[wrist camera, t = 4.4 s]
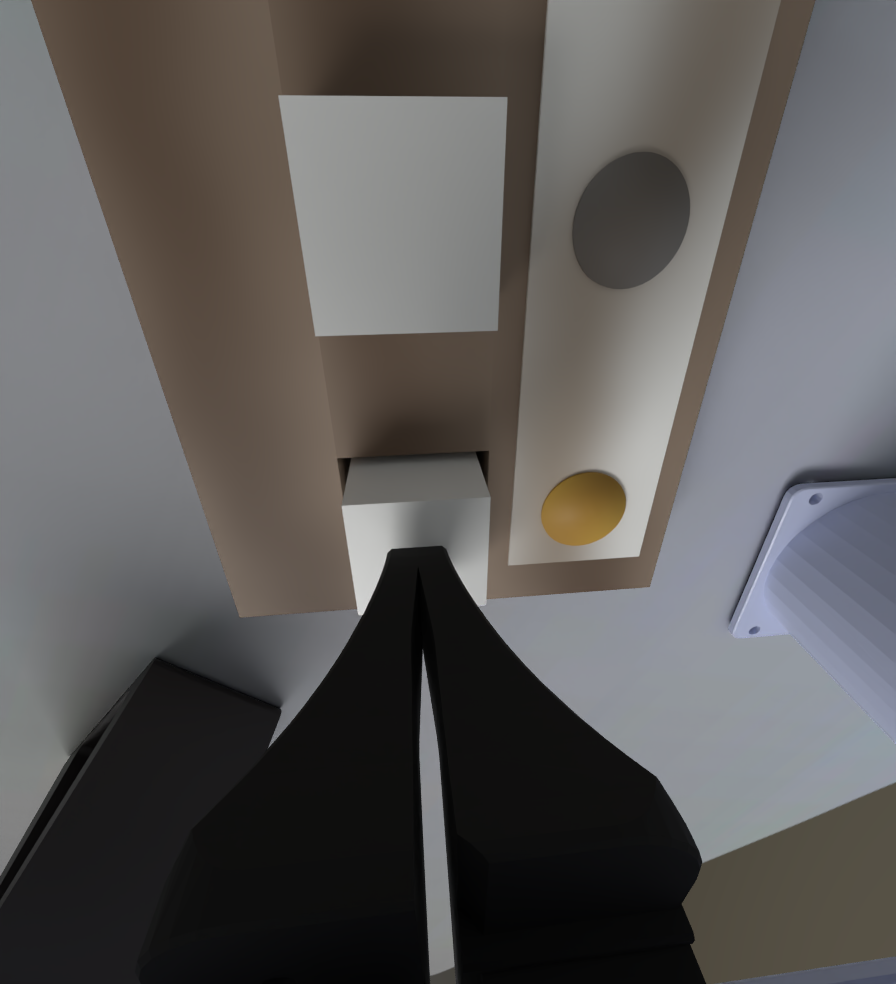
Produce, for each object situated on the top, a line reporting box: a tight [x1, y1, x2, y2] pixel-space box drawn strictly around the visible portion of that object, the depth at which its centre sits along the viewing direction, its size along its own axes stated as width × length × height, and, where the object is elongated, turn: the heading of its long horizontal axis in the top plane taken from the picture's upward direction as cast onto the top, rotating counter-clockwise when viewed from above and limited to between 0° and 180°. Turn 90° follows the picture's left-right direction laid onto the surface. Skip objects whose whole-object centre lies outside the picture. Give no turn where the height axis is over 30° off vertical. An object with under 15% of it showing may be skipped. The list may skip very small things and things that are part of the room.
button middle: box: [278, 95, 507, 336], centre depth 9 cm, size 4×4×3 cm
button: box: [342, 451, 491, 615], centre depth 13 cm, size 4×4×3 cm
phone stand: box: [0, 658, 281, 984], centre depth 16 cm, size 9×6×12 cm, turn 137°
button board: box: [31, 0, 815, 618], centre depth 11 cm, size 14×22×3 cm, turn 1°
